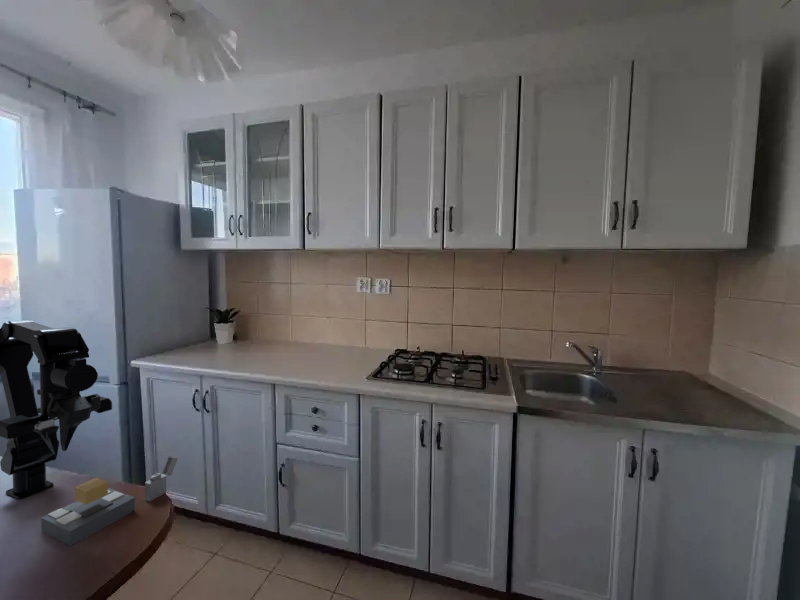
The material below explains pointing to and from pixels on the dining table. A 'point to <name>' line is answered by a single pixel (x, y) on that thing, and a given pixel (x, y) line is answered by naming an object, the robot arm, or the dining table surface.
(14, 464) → the robot arm
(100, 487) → the key
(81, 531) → the keypad
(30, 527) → the dining table surface
